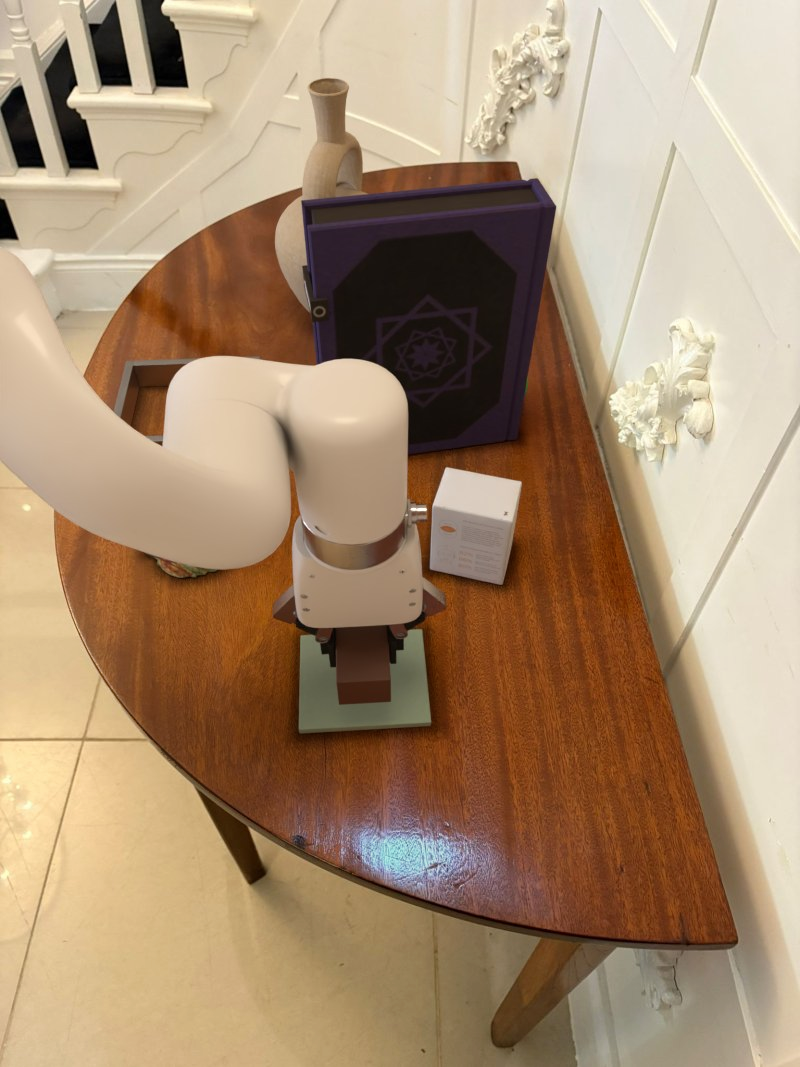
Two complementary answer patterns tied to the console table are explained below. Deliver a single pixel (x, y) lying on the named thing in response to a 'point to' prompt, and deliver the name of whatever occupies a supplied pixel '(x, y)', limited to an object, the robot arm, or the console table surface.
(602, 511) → the console table surface
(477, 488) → the small box
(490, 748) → the console table surface
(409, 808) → the console table surface
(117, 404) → the rectangular frame
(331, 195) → the vase
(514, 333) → the book
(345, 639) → the brown rectangular block
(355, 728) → the mat
